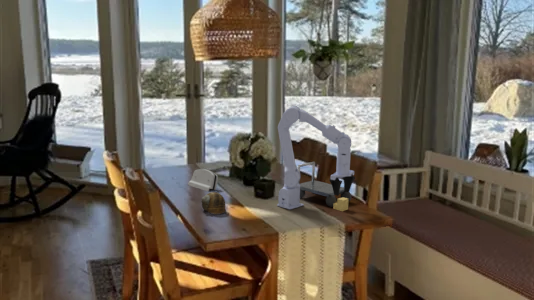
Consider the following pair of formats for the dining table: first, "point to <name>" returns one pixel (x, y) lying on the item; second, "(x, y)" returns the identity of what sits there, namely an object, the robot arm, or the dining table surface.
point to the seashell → (213, 203)
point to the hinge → (204, 179)
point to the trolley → (320, 187)
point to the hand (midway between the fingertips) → (341, 193)
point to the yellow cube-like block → (341, 204)
